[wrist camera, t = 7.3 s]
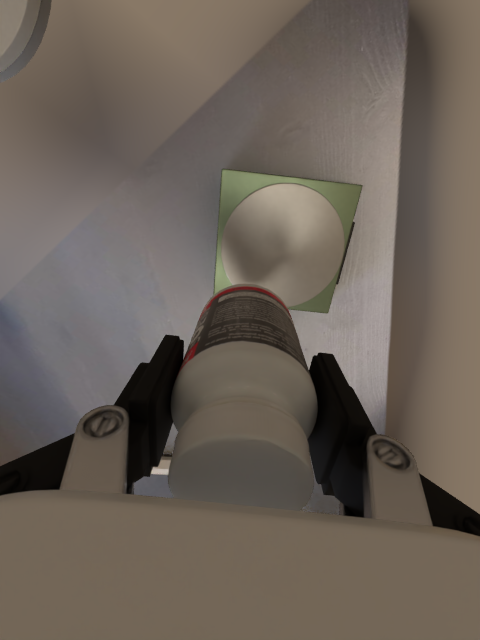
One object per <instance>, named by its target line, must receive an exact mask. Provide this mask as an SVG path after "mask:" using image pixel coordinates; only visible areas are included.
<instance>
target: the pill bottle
mask: <svg viewBox="0 0 480 640" xmlns="http://www.w3.org/2000/svg"><path fill="white" fill-rule="evenodd" d="M170 407H171V415H172V419H173V422H174V425H175V427H176V429H177V431H178V434H177V437H176V440H175V445H174V451H173V455H172V459H171V462H170V466H169V473H168V484H169V488H170V492H171V494H172V496H173V498H174V499H184V500H195V501H206V502H216V503H226V504H236V505H246V506H256V507H266V508H275V509H285V510H295V511H300V510H301V509H302V508H303V507H304V506H305V505H306V504H307V502H308V501H309V499H310V497H311V494H312V492H313V487H314V477H313V470H312V465H311V460H310V454H309V444H308V441H307V439H308V437H309V436H310V434H311V433H312V430H313V428H314V426H315V423H316V419H317V412H318V403H317V396H316V391H315V387H314V384H313V381H312V378H311V375H310V372H309V370H308V367H307V364H306V361H305V358H304V355H303V352H302V349H301V346H300V343H299V339H298V336H297V333H296V330H295V327H294V324H293V321H292V318H291V315H290V313H289V310H288V308H287V306H286V305H285V303H284V302H283V301H282V299H281V298H280V297H279V296H277V295H276V294H275V293H274V292H272V291H271V290H269V289H267V288H265V287H262V286H259V285H255V284H236V285H232V286H229V287H226V288H224V289H222V290H220V291H219V292H217V293H216V294H215V295H213V297H212V298H211V299H210V300H209V301H208V302H207V304H206V305H205V307H204V309H203V311H202V313H201V316H200V318H199V321H198V323H197V326H196V329H195V331H194V334H193V337H192V339H191V342H190V344H189V347H188V350H187V352H186V354H185V357H184V360H183V363H182V365H181V367H180V370H179V372H178V375H177V377H176V380H175V383H174V386H173V390H172V394H171V402H170Z"/></svg>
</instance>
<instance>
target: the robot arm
mask: <svg viewBox="0 0 480 640" xmlns="http://www.w3.org/2000/svg"><path fill="white" fill-rule="evenodd" d="M183 352H184V340H180V338H179V336H173V335H165V337H164V338H163V340H162V342H161V344H160V345H159V347H158V349H157V351H156V352H155V354H154V356H153V357H152V359H151V361H150V363H140V364H139V366H138V367H137V369H136V370H135V372H134V374H133V375H132V377H131V378H130V380H129V382H128V383H127V385H126V386H125V388H124V390H123V391H122V393H121V394H120V396H119V398H118V399H117V401H116V402H115V404H114V405H106V406H101V407H98V408H95V409H93V410H91V411H90V412H88V413H87V414H85V415H84V416H83V417H82V418H81V419H80V421H79V423H78V425H77V428H76V432H75V433H74V434H72V435H70V436H67V437H65V438H63V439H61V440H58V441H56V442H54V443H52V444H49V445H47V446H45V447H43V448H40V449H38V450H36V451H34V452H31V453H29V454H27V455H25V456H22V457H20V458H18V459H16V460H13V461H11V462H9V463H7V464H4V465H2V466H0V640H480V514H478V513H477V512H475V511H474V510H472V509H471V508H470V507H468V506H467V505H465V504H464V503H462V502H461V501H459V500H458V499H456V498H455V497H453V496H452V495H450V494H449V493H447V492H446V491H445V490H443V489H442V488H440V487H439V486H437V485H436V484H434V483H433V482H431V481H430V480H428V479H427V478H425V477H424V476H422V475H421V474H420V473H419V472H418V468H417V464H416V461H415V459H414V456H413V455H412V453H411V452H410V451H409V449H407V448H406V447H405V446H404V445H403V444H402V443H400V442H398V441H397V440H395V439H394V438H391V437H389V436H386V435H381V434H377V433H376V432H375V430H374V428H373V426H372V424H371V422H370V420H369V418H368V416H367V414H366V413H365V411H364V409H363V407H362V405H361V403H360V401H359V399H358V397H357V395H356V394H355V392H354V390H353V388H352V387H350V386H349V384H348V383H347V381H346V379H345V377H344V375H343V373H342V371H341V369H340V367H339V365H338V363H337V361H336V359H335V357H334V355H333V354H327V353H318V355H317V356H316V355H314V356H313V359H312V362H311V366H310V369H309V372H310V375H311V378H312V381H313V384H314V387H315V391H316V396H317V403H318V412H317V419H316V423H315V426H314V428H313V430H312V433H311V434H310V436H309V437H308V439H307V441H308V444H309V452H310V456H311V461H312V465H313V469H314V473H315V478H316V481H317V483H318V484H321V485H322V490H323V494H324V495H332V496H335V497H336V498H337V499H338V500H339V501H340V503H339V515H333V514H324V513H314V512H305V511H295V510H285V509H275V508H266V507H256V506H246V505H236V504H226V503H216V502H206V501H195V500H184V499H174V498H163V497H153V496H142V495H134V482H136V481H138V480H139V479H141V478H142V477H143V476H147V477H150V474H151V472H152V469H153V467H158V466H159V463H160V460H161V457H162V454H163V451H164V448H165V445H166V442H167V439H168V436H169V433H170V430H171V426H172V423H173V419H172V415H171V407H170V402H171V394H172V390H173V386H174V383H175V380H176V377H177V375H178V372H179V370H180V367H181V365H182V363H183Z"/></svg>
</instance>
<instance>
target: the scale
mask: <svg viewBox="0 0 480 640" xmlns="http://www.w3.org/2000/svg"><path fill="white" fill-rule="evenodd" d="M277 183H296V184H301V185H304V186H307V187H310V188H312V189H314V190H316V191H318V192H319V193H320V194H322V195H323V196H324V197H325V198H326V199H327V200H328V201H329V202H330V203H331V204H332V205H333V207H334V208H335V209H336V211H337V213H338V215H339V217H340V219H341V222H342V225H343V230H344V239H345V244H344V253H343V258H342V261H341V264H340V267H339V269H338V271H337V273H336V275H335V276H334V278H333V279H332V281H331V282H330V283H329V284H328V286H327V287H326V288H325V289H324V290H323V291H322V292H320V293H319V294H318V295H316V296H315V297H313V298H312V299H310V300H308V301H306V302H304V303H302V304H299V305H296V306H291V307H287V308H288V309H291V310H300V311H310V312H319V313H328V312H329V308H330V304H331V301H332V297H333V293H334V289H335V286H336V284H338V282H339V279H340V275H341V271H342V268H343V264H344V260H345V257H346V253H347V249H348V246H349V242H350V238H351V235H352V231H353V228H354V224H355V222H353V219H354V216H355V212H356V208H357V204H358V201H359V197H360V193H361V190H362V185H357V184H349V183H340V182H332V181H323V180H315V179H306V178H298V177H289V176H281V175H272V174H264V173H255V172H247V171H238V170H230V169H222V173H221V188H220V204H219V219H218V234H217V249H216V264H215V279H214V294H213V295H215V294H216V293H217V292H219V291H220V290H222V289H224V288H226V287H229V286H232V283H231V282H230V280H229V278H228V277H227V275H226V272H225V270H224V267H223V263H222V257H221V241H222V235H223V232H224V228H225V226H226V223H227V221H228V219H229V217H230V215H231V214H232V212H233V211H234V209H235V208H236V207H237V206H238V204H239V203H240V202H241V201H242V200H243V199H245V198H246V197H247V196H248V195H250V194H251V193H253V192H255V191H256V190H258V189H260V188H263V187H265V186H268V185H272V184H277Z"/></svg>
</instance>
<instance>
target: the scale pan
mask: <svg viewBox="0 0 480 640" xmlns="http://www.w3.org/2000/svg"><path fill="white" fill-rule="evenodd" d="M344 244H345V239H344V230H343V225H342V222H341V219H340V217H339V215H338V213H337V211H336V209H335V208H334V207H333V205H332V204H331V203H330V202H329V201H328V200H327V199H326V198H325V197H324V196H323V195H322V194H320V193H319V192H318V191H316V190H314V189H312V188H310V187H307V186H304V185H301V184H296V183H277V184H272V185H268V186H265V187H263V188H260V189H258V190H256V191H255V192H253V193H251V194H250V195H248V196H247V197H246V198H245V199H243V200H242V201H241V202H240V203H239V204H238V206H237V207H236V208H235V209H234V211H233V212H232V214H231V215H230V217H229V219H228V221H227V223H226V226H225V228H224V232H223V235H222V241H221V257H222V263H223V267H224V270H225V272H226V275H227V277H228V278H229V280H230V282H231V283H232V285H236V284H255V285H259V286H262V287H265V288H267V289H269V290H271V291H272V292H274V293H275V294H276V295H277V296H279V297H280V298H281V299H282V301H283V302H284V303H285V305H286V306H287V307H291V306H296V305H299V304H302V303H304V302H306V301H308V300H310V299H312V298H313V297H315V296H316V295H318V294H319V293H320V292H322V291H323V290H324V289H325V288H326V287H327V286H328V284H329V283H330V282H331V281H332V279H333V278H334V276H335V275H336V273H337V271H338V269H339V267H340V264H341V261H342V258H343V253H344Z"/></svg>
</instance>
